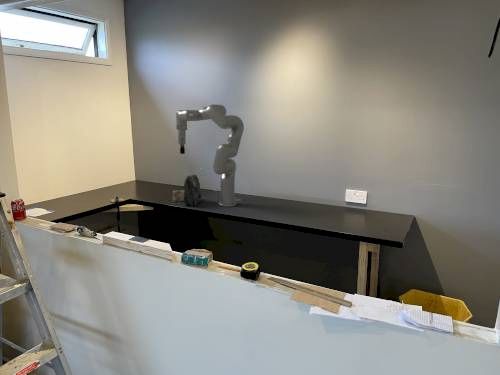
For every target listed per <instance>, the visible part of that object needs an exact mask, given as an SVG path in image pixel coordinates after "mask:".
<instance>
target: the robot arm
mask: <svg viewBox="0 0 500 375" xmlns="http://www.w3.org/2000/svg"><path fill="white" fill-rule="evenodd" d="M175 116H176V117H175V120H176V121H175V122H176V123H175V124H176V131H177V144H179V153H180V154H181V155H185V152H186V151H185V150H186V149H185V145H186V138H187V135H186V132H187V130H188V122H198V121H206V120H212V122H214V124H216V125H217V126H218V127H219V128H220V129H223V130H230V129H231V130H230V132H229V134H228V135H227V141H226V142H225V143H222V144H220V145H219V146H218V147H217V149H216V151H215V155H214V160H213V162H212V163H213V165H212V170H213V171H214V173H215V174H216V175H221V176H220V200H219V202H218V203H217V204H218V206H220V207H226V208H227V207H235V206H237V205H238V204H237V202H238V203H239V202H240V203H241V202H242V198H236V197H235V191H236V190H235V185H236V184H235V182H236V180H235V179H236V178H235V176H236V170H237V163H236V161H235V160H234V159H233V158H235V157H236V156H237V155H238V153H239V149H240V145H241V139H242V136H243V133H244V128H245V127H244V122H243V120H242V119H241V117H239V116H237V115H233V114H232V115H229V114H228V115H227V109H226V107H225V106H224V105H222V104H210V105H208V106H204V107H203V108H202V109H185V110H182V109H178V110H176V112H175Z"/></svg>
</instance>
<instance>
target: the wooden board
mask: <svg viewBox="0 0 500 375" xmlns="http://www.w3.org/2000/svg"><path fill="white" fill-rule="evenodd" d="M202 196H203V195H201V198H200V201H201V200H202ZM182 201H184V190H183V189H182V190H172V202H182Z"/></svg>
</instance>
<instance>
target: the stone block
mask: <svg viewBox="0 0 500 375" xmlns="http://www.w3.org/2000/svg"><path fill="white" fill-rule="evenodd" d="M183 188H184V207H193V206H197V205H199V204H200V202H201V200H200V198H201V196H202V189H201V184H200V180H199V178H198V175H197V174H192V175H191V174H190V175H187V176H186V177H185V179H184V183H183Z"/></svg>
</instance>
